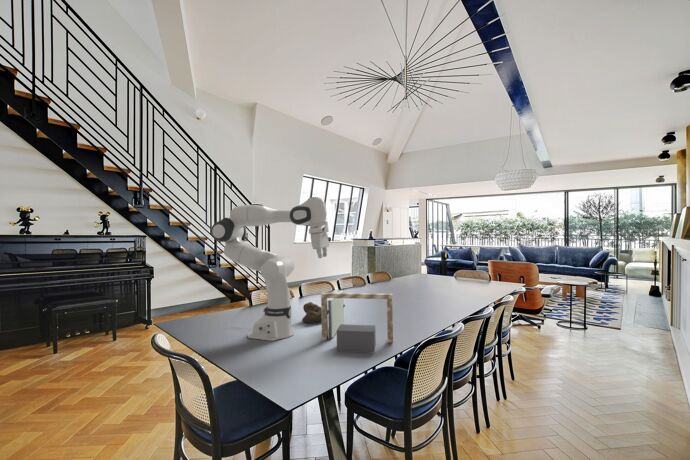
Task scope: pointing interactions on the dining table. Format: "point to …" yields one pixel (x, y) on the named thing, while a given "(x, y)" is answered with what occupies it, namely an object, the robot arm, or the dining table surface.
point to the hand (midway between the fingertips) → (322, 257)
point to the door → (335, 314)
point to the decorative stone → (312, 313)
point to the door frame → (356, 296)
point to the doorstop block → (356, 338)
